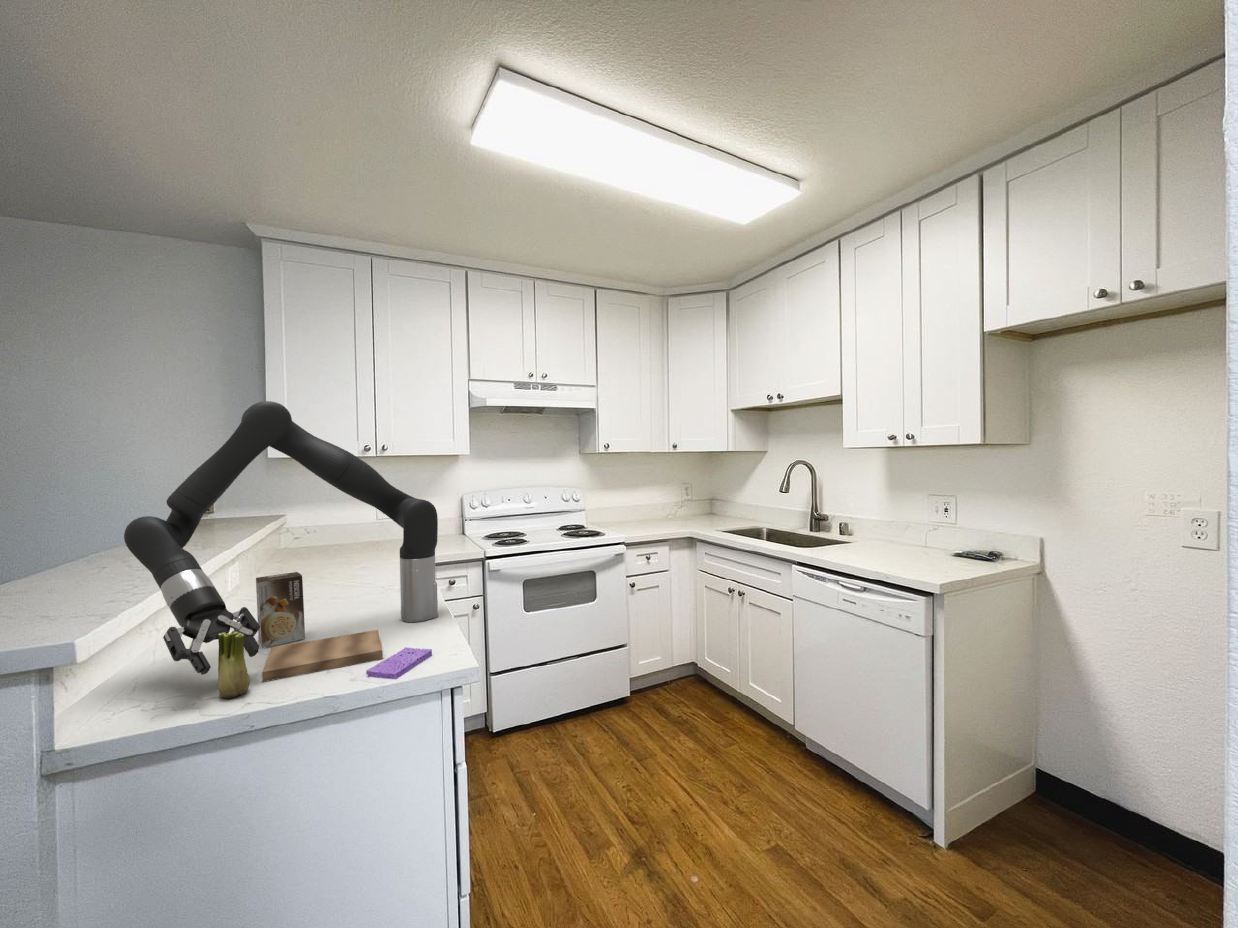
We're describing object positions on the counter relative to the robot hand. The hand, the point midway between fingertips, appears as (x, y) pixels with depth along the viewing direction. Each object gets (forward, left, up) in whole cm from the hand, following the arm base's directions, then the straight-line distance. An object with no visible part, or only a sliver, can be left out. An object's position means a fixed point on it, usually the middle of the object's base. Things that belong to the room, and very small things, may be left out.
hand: (231, 662), depth 96 cm
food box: (-5, -29, -6) cm, 30 cm away
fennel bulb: (0, 0, -6) cm, 6 cm away
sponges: (-29, +2, -7) cm, 30 cm away
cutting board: (-15, -11, -6) cm, 20 cm away
